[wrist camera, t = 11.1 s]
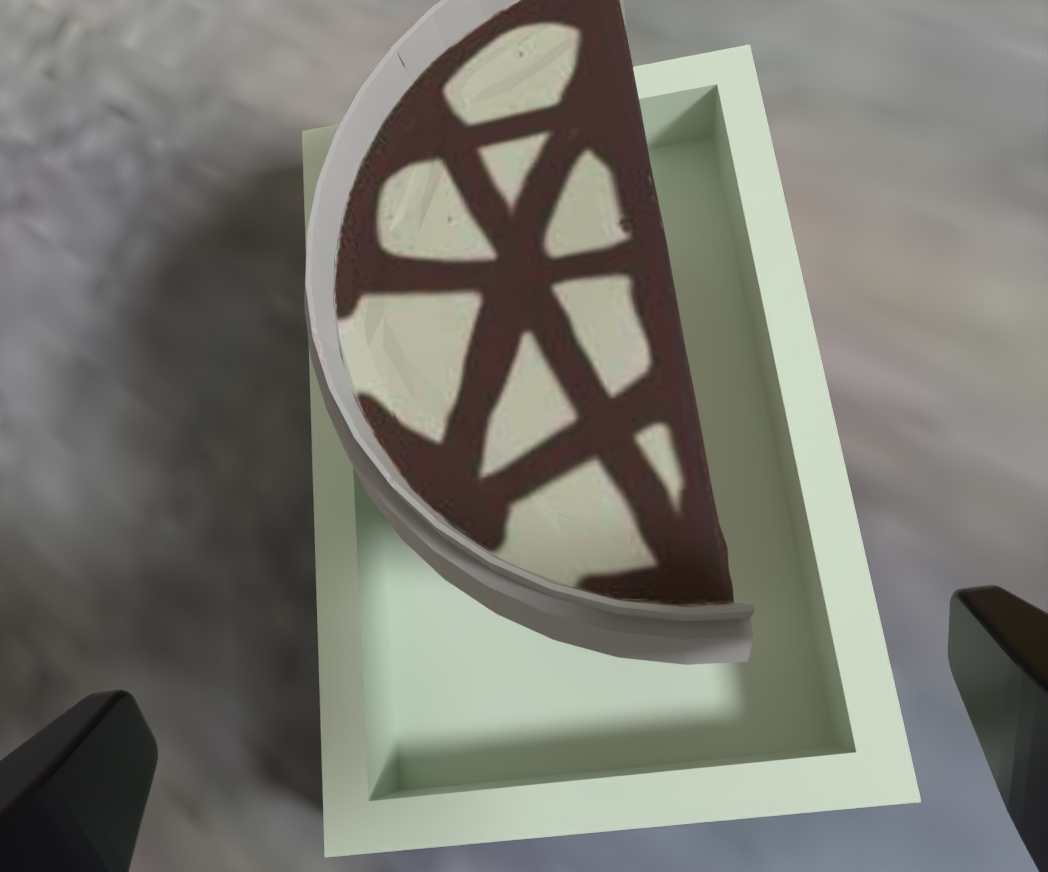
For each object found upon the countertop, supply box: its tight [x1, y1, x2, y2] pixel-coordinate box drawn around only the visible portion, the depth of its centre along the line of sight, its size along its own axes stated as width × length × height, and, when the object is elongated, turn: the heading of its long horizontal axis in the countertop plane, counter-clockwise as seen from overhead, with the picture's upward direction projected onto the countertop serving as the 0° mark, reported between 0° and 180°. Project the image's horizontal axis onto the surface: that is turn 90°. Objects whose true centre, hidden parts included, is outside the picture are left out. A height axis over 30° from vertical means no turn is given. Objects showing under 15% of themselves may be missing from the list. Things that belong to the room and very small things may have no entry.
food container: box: [304, 0, 755, 665], centre depth 17 cm, size 12×6×10 cm, turn 7°
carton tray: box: [302, 45, 921, 857], centre depth 21 cm, size 18×12×3 cm, turn 6°
